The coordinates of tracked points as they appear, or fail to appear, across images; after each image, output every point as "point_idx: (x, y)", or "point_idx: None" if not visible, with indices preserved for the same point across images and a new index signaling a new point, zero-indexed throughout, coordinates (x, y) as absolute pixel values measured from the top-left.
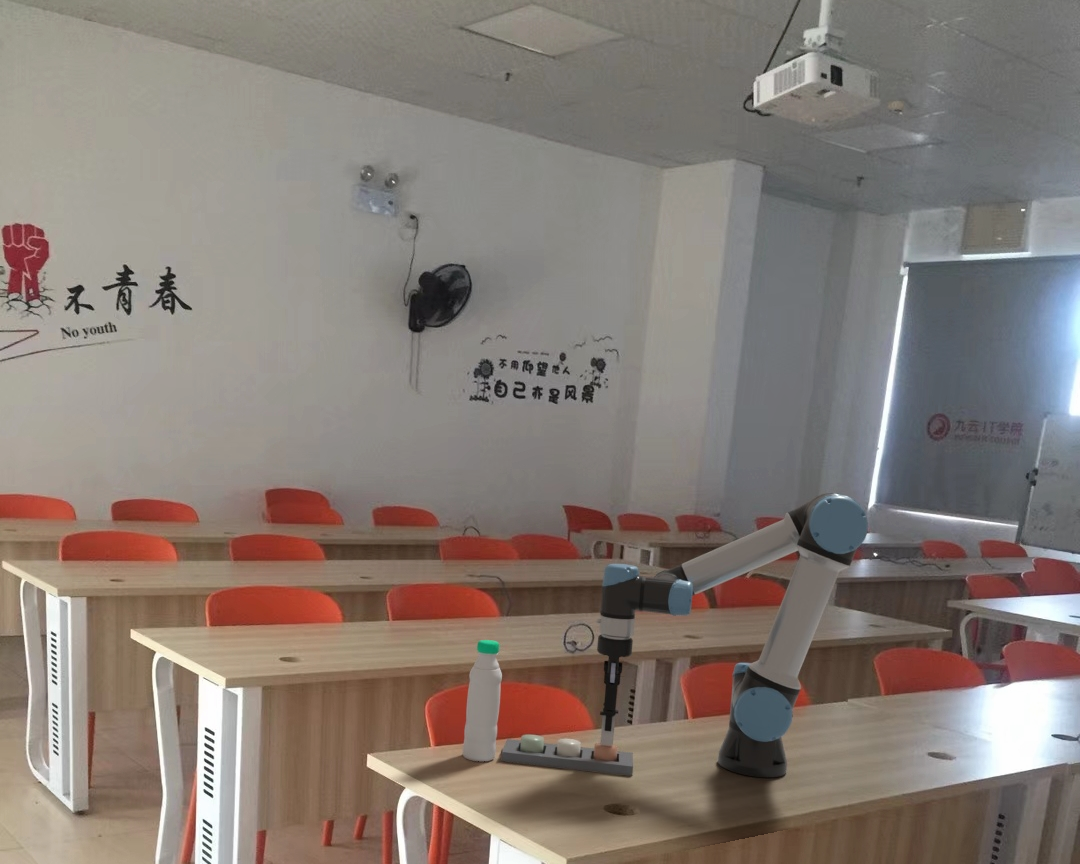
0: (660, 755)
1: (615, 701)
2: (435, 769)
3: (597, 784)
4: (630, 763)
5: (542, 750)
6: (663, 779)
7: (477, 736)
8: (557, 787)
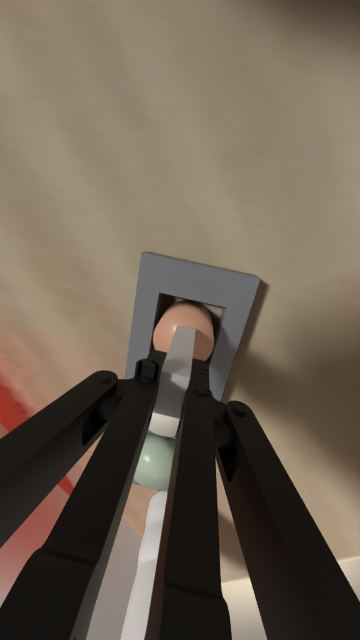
0: (72, 150)
1: (289, 484)
2: (236, 551)
3: (311, 363)
4: (235, 279)
5: (166, 440)
6: (280, 192)
7: None
8: (324, 433)
